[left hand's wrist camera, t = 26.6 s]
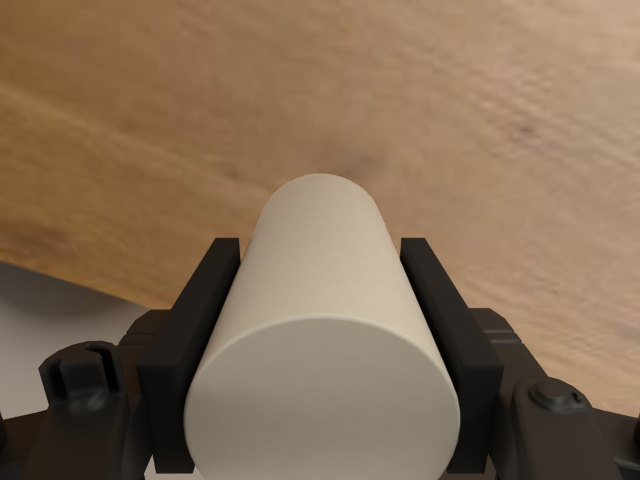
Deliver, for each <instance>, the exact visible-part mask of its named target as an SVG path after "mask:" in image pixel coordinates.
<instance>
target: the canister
mask: <svg viewBox="0 0 640 480" xmlns="http://www.w3.org/2000/svg"><path fill="white" fill-rule="evenodd" d="M183 426H184V432H185V439H186V443H187V446H188V449H189V452H190V455H191V457H192V459H193V461H194V463H195V465H196V467H197V468H198V470H199V471H200V473H201V474H202V475H203V477H204V478H205V480H438V479H439V477H440V476H441V474H442V473H443V472H444V470H445V469H446V467H447V466H448V464H449V462H450V460H451V458H452V456H453V454H454V451H455V448H456V445H457V441H458V435H459V429H460V409H459V404H458V398H457V395H456V392H455V389H454V387H453V384H452V381H451V379H450V377H449V374H448V372H447V370H446V367H445V365H444V363H443V360H442V358H441V356H440V353H439V351H438V349H437V346H436V344H435V341H434V339H433V337H432V334H431V332H430V330H429V327H428V325H427V323H426V320H425V318H424V316H423V313H422V311H421V308H420V306H419V304H418V301H417V299H416V297H415V294H414V292H413V290H412V287H411V285H410V283H409V280H408V278H407V276H406V273H405V271H404V268H403V266H402V264H401V261H400V259H399V257H398V254H397V252H396V250H395V247H394V245H393V243H392V240H391V238H390V235H389V233H388V231H387V228H386V226H385V224H384V221H383V219H382V217H381V214H380V212H379V210H378V208H377V206H376V204H375V202H374V201H373V199H372V198H371V197H370V195H369V194H368V193H367V192H366V191H365V190H364V189H362V188H361V187H360V186H358V185H357V184H355V183H354V182H352V181H350V180H348V179H345V178H343V177H340V176H336V175H331V174H311V175H306V176H302V177H299V178H296V179H294V180H291V181H290V182H288V183H286V184H284V185H283V186H282V187H281V188H279V189H278V190H277V191H276V192H275V193H274V194H273V195H272V196H271V197H270V199H269V200H268V201H267V203H266V205H265V207H264V208H263V211H262V213H261V216H260V218H259V220H258V223H257V225H256V228H255V230H254V233H253V235H252V237H251V240H250V242H249V245H248V247H247V250H246V252H245V254H244V257H243V259H242V262H241V264H240V267H239V269H238V271H237V274H236V276H235V279H234V281H233V284H232V286H231V288H230V291H229V293H228V296H227V298H226V301H225V303H224V305H223V308H222V310H221V313H220V315H219V318H218V320H217V322H216V325H215V327H214V330H213V332H212V335H211V337H210V339H209V342H208V344H207V347H206V349H205V352H204V354H203V356H202V359H201V361H200V364H199V366H198V369H197V371H196V373H195V376H194V378H193V381H192V383H191V386H190V389H189V391H188V394H187V397H186V402H185V407H184V422H183Z"/></svg>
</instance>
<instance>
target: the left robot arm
mask: <svg viewBox="0 0 640 480" xmlns="http://www.w3.org/2000/svg"><path fill="white" fill-rule="evenodd" d="M400 261H401V264H402V266H403V268H404V271H405V273H406V276H407V278H408V280H409V283H410V285H411V287H412V290H413V292H414V294H415V297H416V299H417V301H418V304H419V306H420V308H421V311H422V313H423V316H424V318H425V320H426V323H427V325H428V327H429V330H430V332H431V334H432V337H433V339H434V341H435V344H436V346H437V349H438V351H439V353H440V356H441V358H442V360H443V363H444V365H445V367H446V370H447V372H448V374H449V377H450V379H451V381H452V384H453V387H454V389H455V392H456V395H457V398H458V404H459V409H460V429H459V435H458V441H457V445H456V448H455V451H454V454H453V456H452V458H451V460H450V462H449V464H448V466H447V467H446V470H447V473H452V474H460V473H461V474H475V473H477V474H484V471H485V466H486V461H487V456H488V453H489V456H490V458H491V460H492V462H493V465H494V467H495V469H496V477H495V480H640V414H639V417H638V418H635V417H630V416H626V415H621V414H617V413H612V412H607V411H603V410H599V409H596V408H592V406H591V404H590V403H589V401H588V400H587V398H586V397H585V395H584V394H582V393H581V392H580V391H578V390H577V389H576V388H575V387H573V386H572V385H569V384H567V383H565V382H563V381H561V380H559V379H556V378H552V377H548V376H547V374H546V373H545V372H544V370H543V369H542V368H541V366H540V365H539V363H538V362H537V361H536V359H535V358H534V357H533V355H532V354H531V353H530V351H529V350H528V349H527V347H526V346H525V345H524V344H522V341H521V339H520V338H519V337H518V335H517V334H516V333H514V330H513V329H512V327H511V326H510V325H509V323H508V322H507V321H506V319H505V318H503V317H502V316H500V315H499V314H497V313H496V312H494V311H493V310H491V309H490V308H468V306H467V305H466V303H465V302H464V300H463V298H462V297H461V295H460V294H459V292H458V290H457V289H456V287H455V286H454V284H453V282H452V281H451V279H450V278H449V276H448V275H447V273H446V271H445V270H444V268H443V267H442V265H441V263H440V262H439V260H438V259H437V257H436V255H435V254H434V252H433V251H432V249H431V247H430V246H429V244H428V243H427V241H426V239H425V238H401V250H400ZM240 264H241V260H240V247H239V238H215V240H214V241H213V243H212V245H211V246H210V248H209V249H208V251H207V253H206V254H205V256H204V257H203V259H202V261H201V262H200V264H199V265H198V267H197V269H196V270H195V272H194V273H193V275H192V277H191V278H190V280H189V281H188V283H187V285H186V286H185V288H184V289H183V291H182V293H181V294H180V296H179V297H178V299H177V300H176V302H175V304H174V305H173V307H172V308H171V310H150V311H148V312H147V313H145V314H144V315H142V316H141V317H139V318H138V319H136V320H135V321H134V323H133V324H132V325H131V327H130V328H129V330H128V331H127V334H126V335H124V336H123V338H122V339H121V340H120V342H119V345H117V346H115V345H114V344H112V343H109V342H105V341H87V342H82V343H78V344H74V345H71V346H69V347H66V348H64V349H62V350H59V351H57V352H56V353H54V354H53V355H51V356H50V357H48V358H47V359H46V360H45V361H44V362H43V363H42V364H41V366H40V367H39V368H38V369H39V372H40V376H41V379H42V383H43V386H44V390H45V393H46V396H47V400H48V403H49V407H48V409H47V410H44V411H41V412H37V413H32V414H28V415H23V416H18V417H14V418H10V419H5V420H3V419H2V416H1V413H0V480H145V477H144V472H145V470H146V468H147V465H148V463H149V461H150V458H151V456H152V454H153V459H154V465H155V470H156V473H159V474H161V473H165V474H170V473H171V474H172V473H193V471H194V467H195V463H194V461H193V459H192V457H191V455H190V452H189V449H188V446H187V443H186V439H185V432H184V426H183V422H184V407H185V402H186V397H187V394H188V391H189V389H190V386H191V383H192V381H193V378H194V376H195V373H196V371H197V369H198V366H199V364H200V361H201V359H202V356H203V354H204V352H205V349H206V347H207V344H208V342H209V339H210V337H211V335H212V332H213V330H214V327H215V325H216V322H217V320H218V318H219V315H220V313H221V310H222V308H223V305H224V303H225V301H226V298H227V296H228V293H229V291H230V288H231V286H232V284H233V281H234V279H235V276H236V274H237V271H238V269H239V267H240Z"/></svg>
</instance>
